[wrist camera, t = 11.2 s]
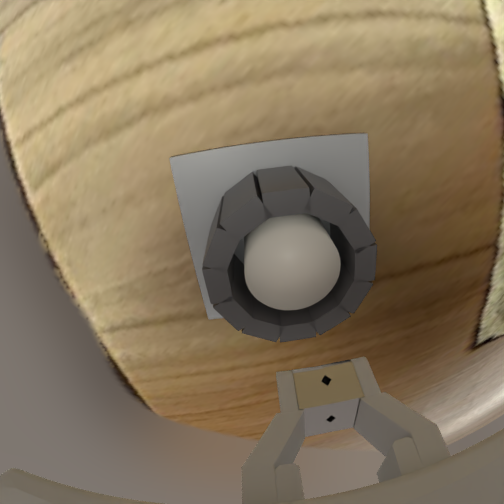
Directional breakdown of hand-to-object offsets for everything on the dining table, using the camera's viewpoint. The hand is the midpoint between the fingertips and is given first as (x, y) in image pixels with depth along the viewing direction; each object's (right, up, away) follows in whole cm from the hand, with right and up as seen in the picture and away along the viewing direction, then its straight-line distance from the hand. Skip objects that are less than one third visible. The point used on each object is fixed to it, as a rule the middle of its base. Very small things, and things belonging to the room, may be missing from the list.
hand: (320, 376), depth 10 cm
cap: (0, +5, +10) cm, 12 cm away
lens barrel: (0, +5, +11) cm, 12 cm away
